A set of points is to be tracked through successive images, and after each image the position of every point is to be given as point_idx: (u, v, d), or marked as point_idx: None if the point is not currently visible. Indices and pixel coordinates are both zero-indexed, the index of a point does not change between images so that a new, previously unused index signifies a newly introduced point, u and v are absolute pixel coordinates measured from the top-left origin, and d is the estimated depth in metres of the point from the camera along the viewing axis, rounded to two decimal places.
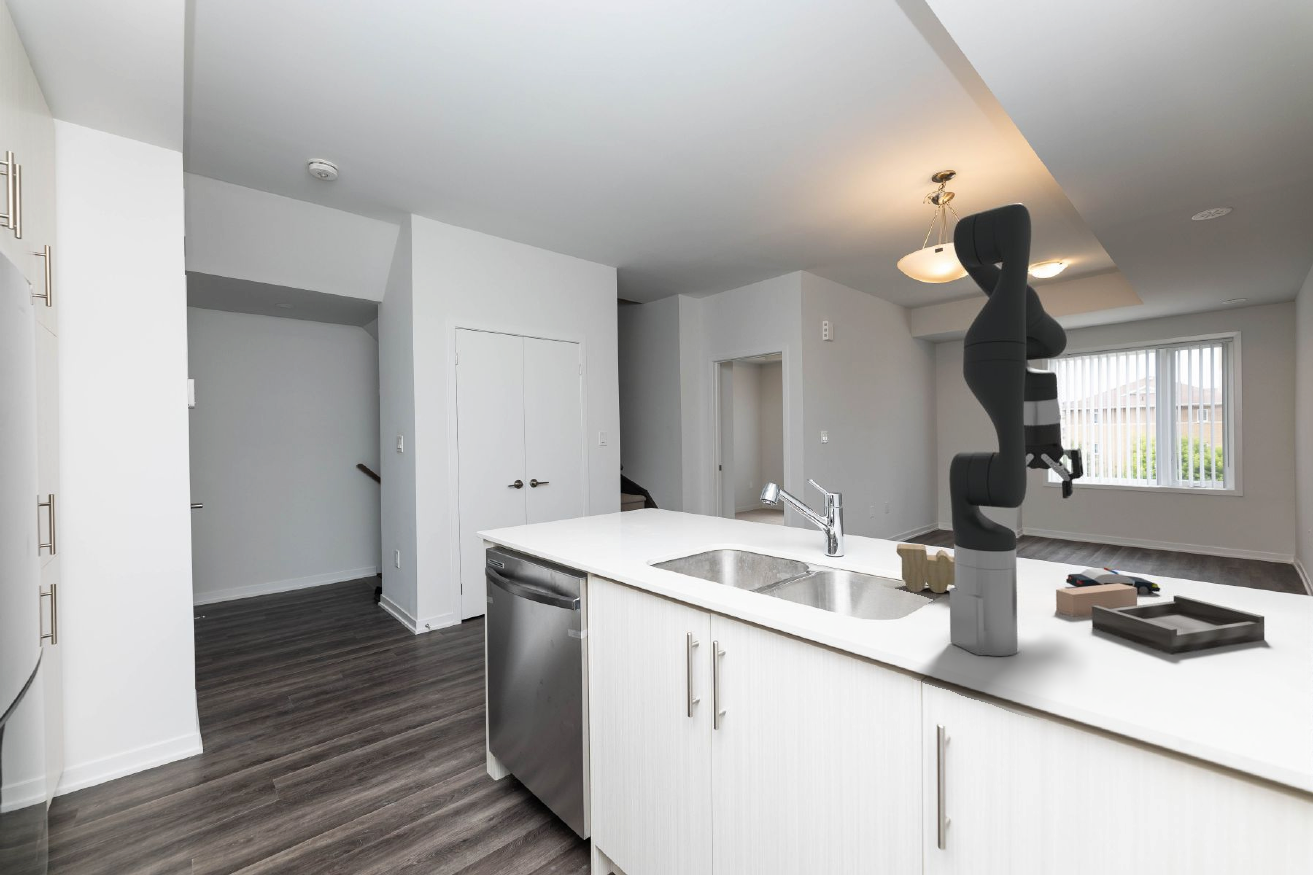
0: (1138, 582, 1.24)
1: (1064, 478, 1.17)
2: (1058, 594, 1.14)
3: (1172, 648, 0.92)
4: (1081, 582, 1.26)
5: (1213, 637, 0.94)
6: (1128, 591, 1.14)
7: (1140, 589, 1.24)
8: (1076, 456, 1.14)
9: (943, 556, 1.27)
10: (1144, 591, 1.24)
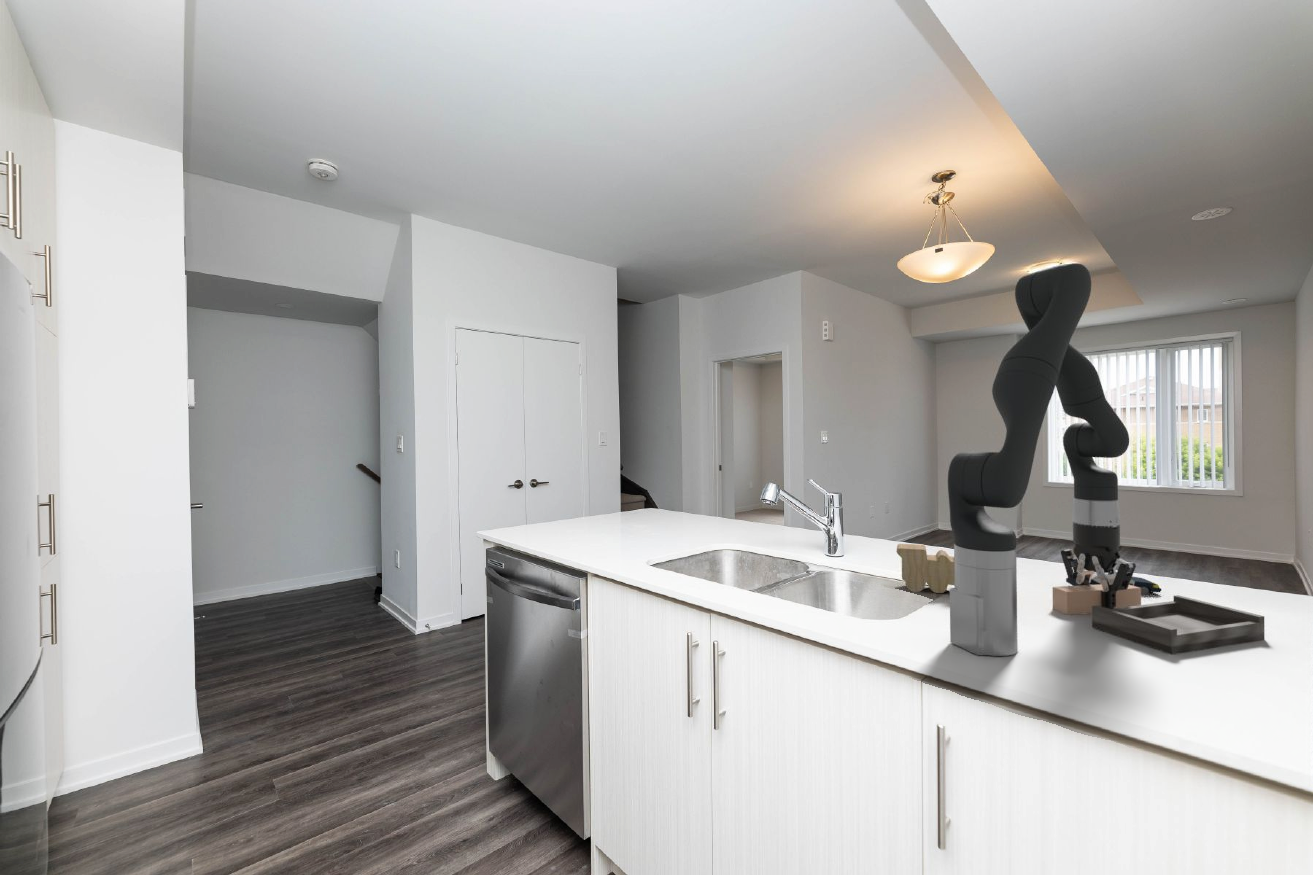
0: (1138, 582, 1.24)
1: (1103, 588, 1.12)
2: (1054, 591, 1.15)
3: (1172, 648, 0.92)
4: None
5: (1213, 637, 0.94)
6: (1130, 591, 1.13)
7: (1141, 590, 1.24)
8: (1122, 570, 1.08)
9: (943, 556, 1.27)
10: (1144, 591, 1.24)
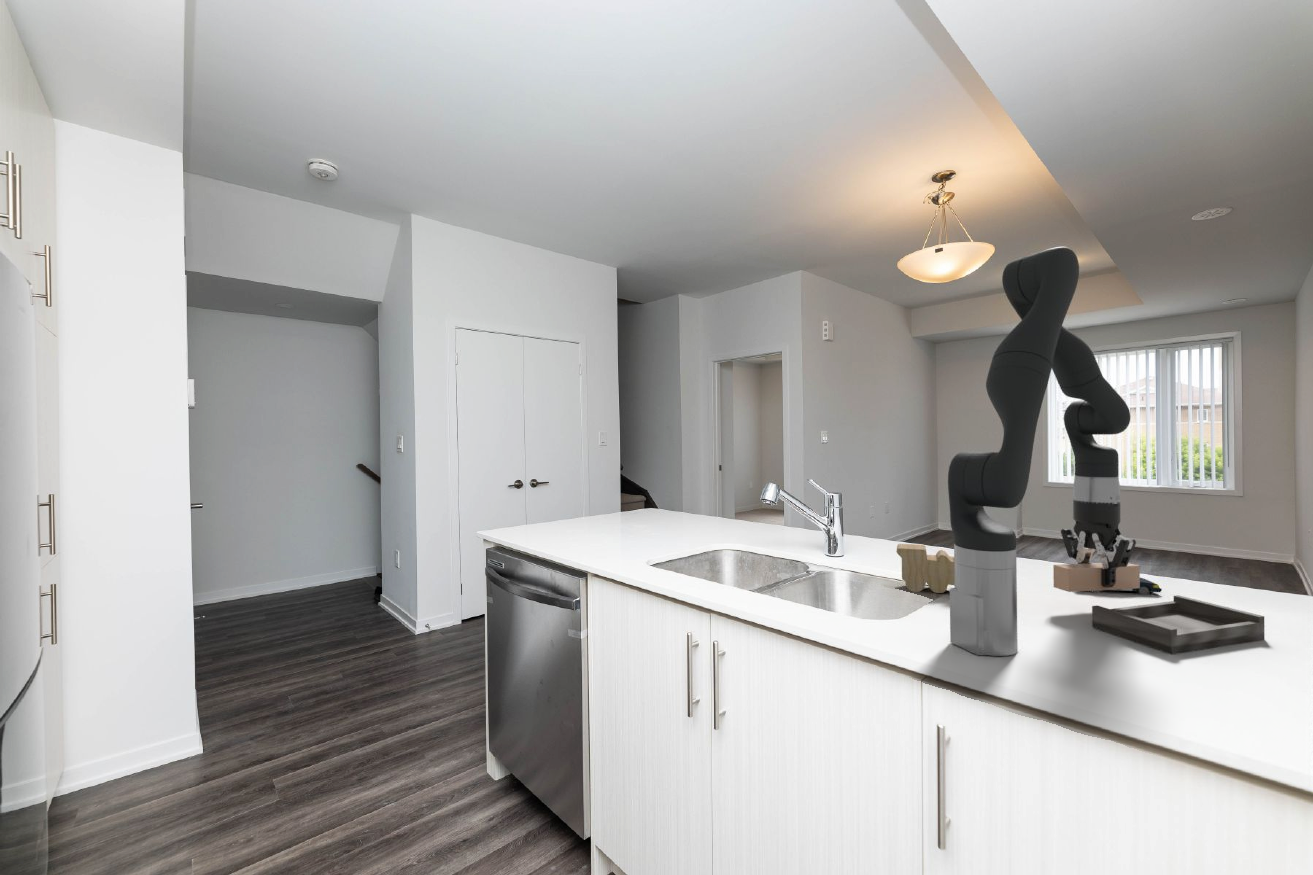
0: None
1: (1103, 565, 1.12)
2: (1055, 569, 1.14)
3: (1172, 648, 0.92)
4: None
5: (1213, 637, 0.94)
6: (1129, 569, 1.13)
7: (1141, 590, 1.24)
8: (1123, 546, 1.08)
9: (943, 556, 1.27)
10: (1144, 591, 1.24)
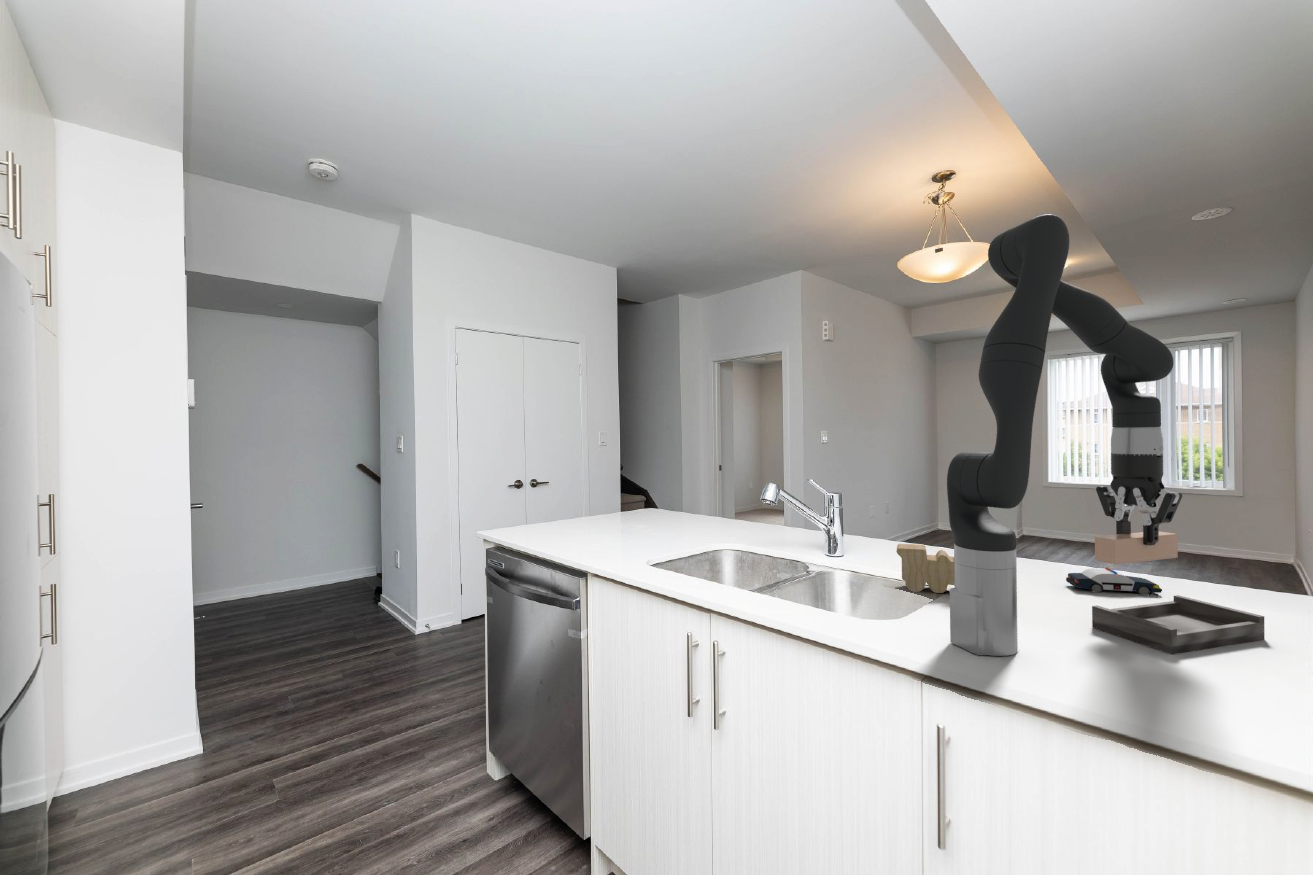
0: (1138, 582, 1.24)
1: (1145, 521, 1.04)
2: (1097, 541, 1.06)
3: (1172, 648, 0.92)
4: (1078, 581, 1.27)
5: (1213, 637, 0.94)
6: (1169, 537, 1.07)
7: (1141, 590, 1.24)
8: (1168, 500, 1.01)
9: (943, 556, 1.27)
10: (1145, 591, 1.24)
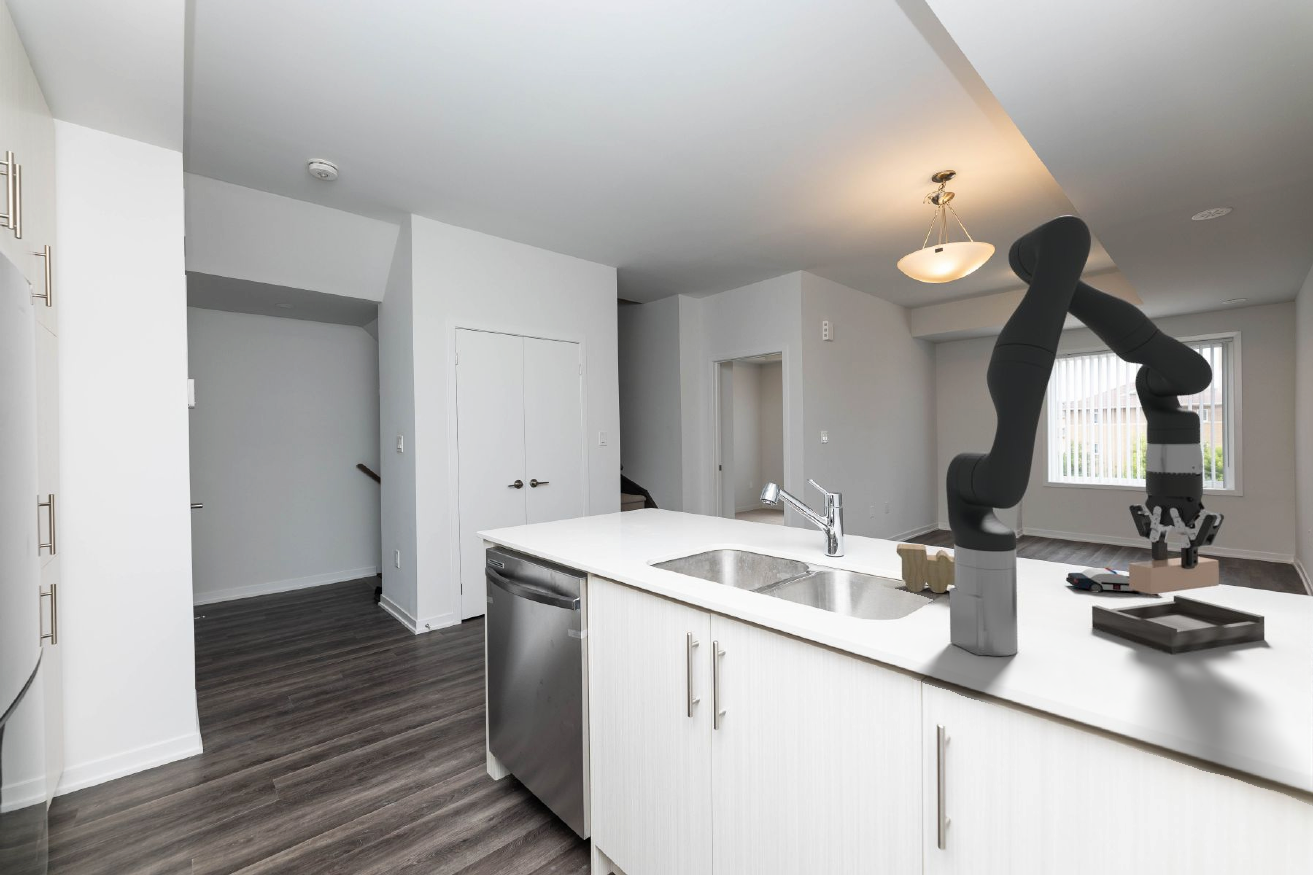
0: None
1: (1183, 544, 0.98)
2: (1131, 568, 1.00)
3: (1172, 648, 0.92)
4: (1077, 580, 1.27)
5: (1213, 637, 0.94)
6: (1209, 564, 1.01)
7: None
8: (1209, 522, 0.95)
9: (943, 556, 1.27)
10: None
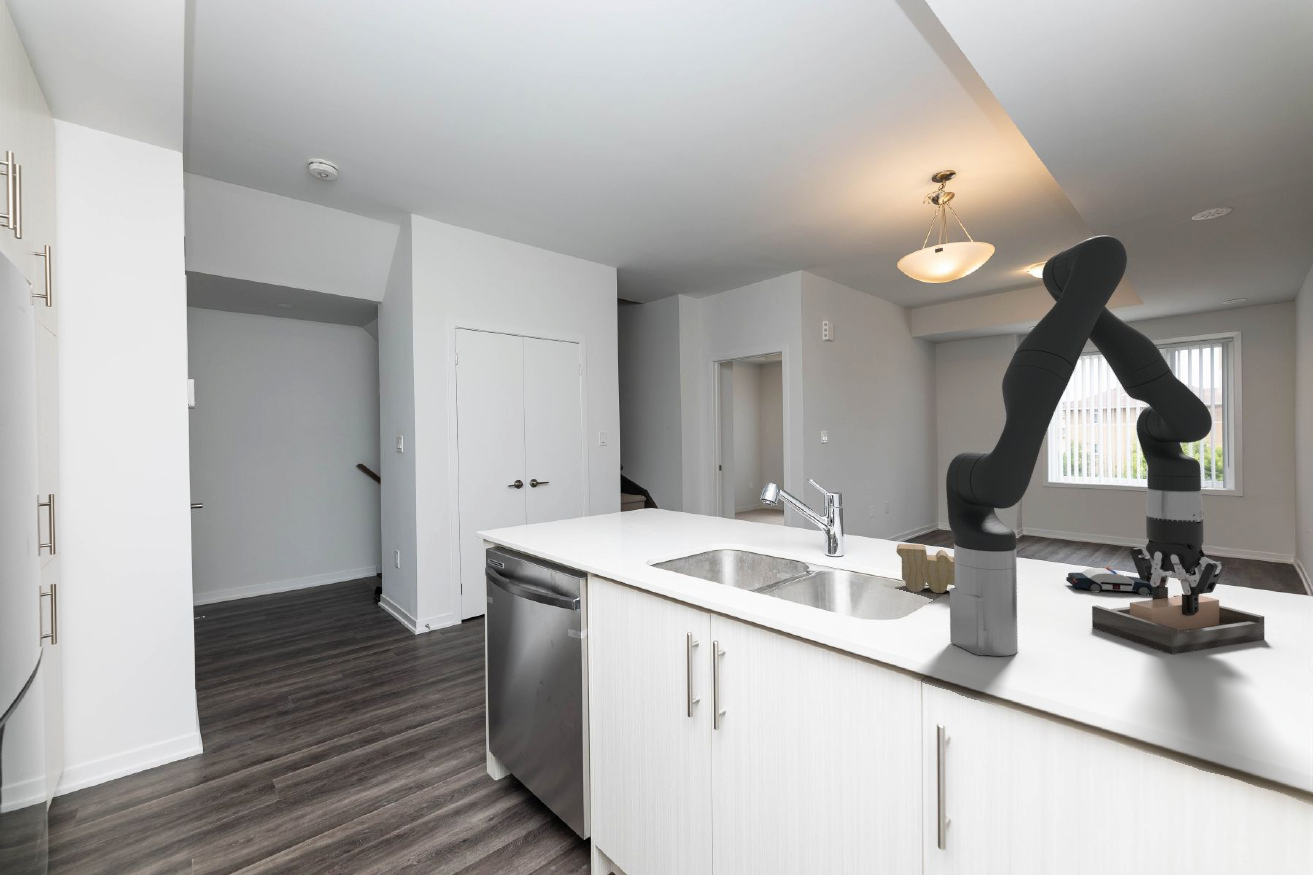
0: (1138, 583, 1.24)
1: (1184, 590, 0.99)
2: (1132, 608, 1.00)
3: (1172, 648, 0.92)
4: (1076, 580, 1.28)
5: (1213, 637, 0.94)
6: (1210, 604, 1.01)
7: (1140, 590, 1.24)
8: (1210, 571, 0.95)
9: (943, 556, 1.27)
10: (1145, 591, 1.23)
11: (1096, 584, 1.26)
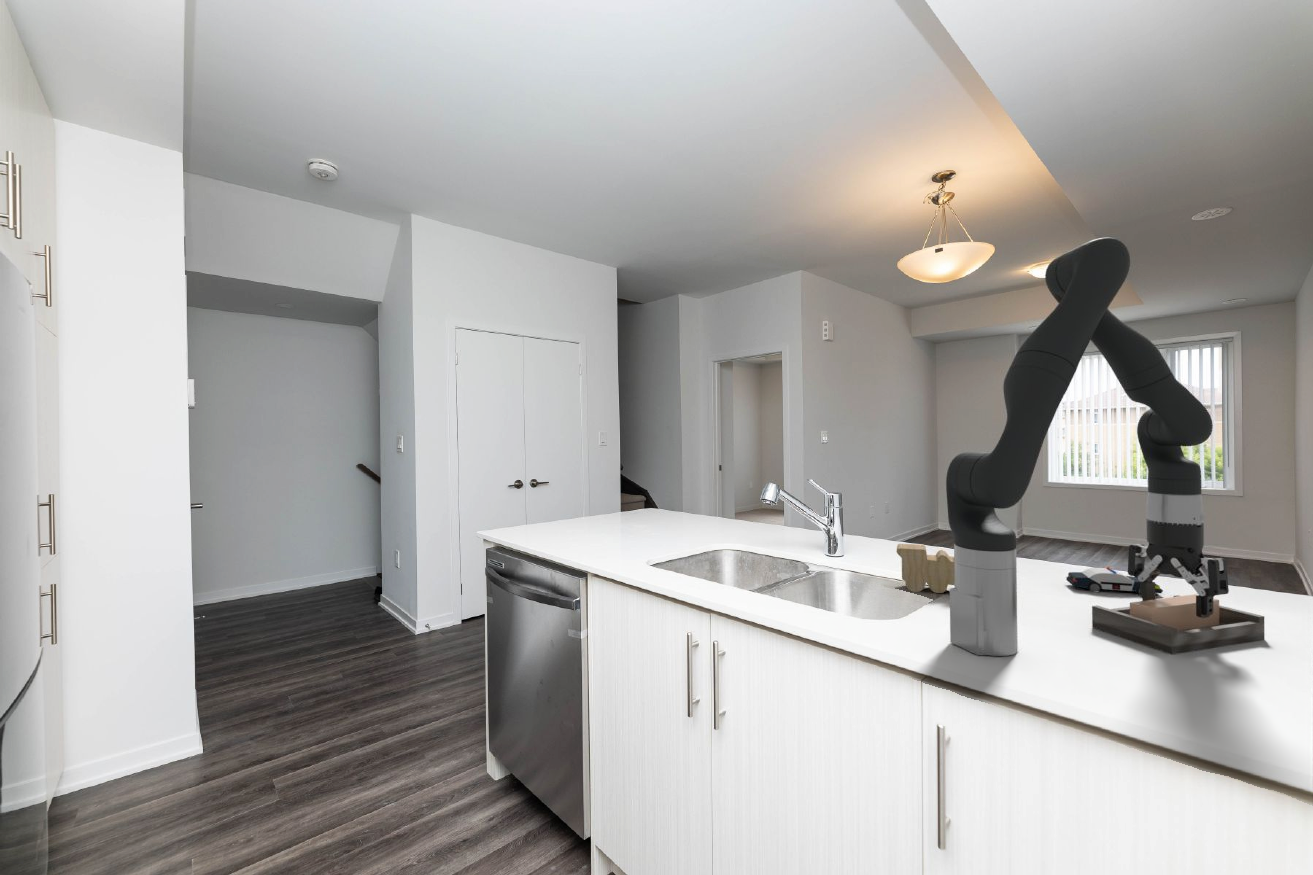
0: (1138, 583, 1.24)
1: (1198, 592, 0.96)
2: (1132, 608, 1.00)
3: (1172, 648, 0.92)
4: (1076, 580, 1.28)
5: (1213, 637, 0.94)
6: None
7: None
8: (1213, 567, 0.94)
9: (943, 556, 1.27)
10: None
11: (1096, 584, 1.27)
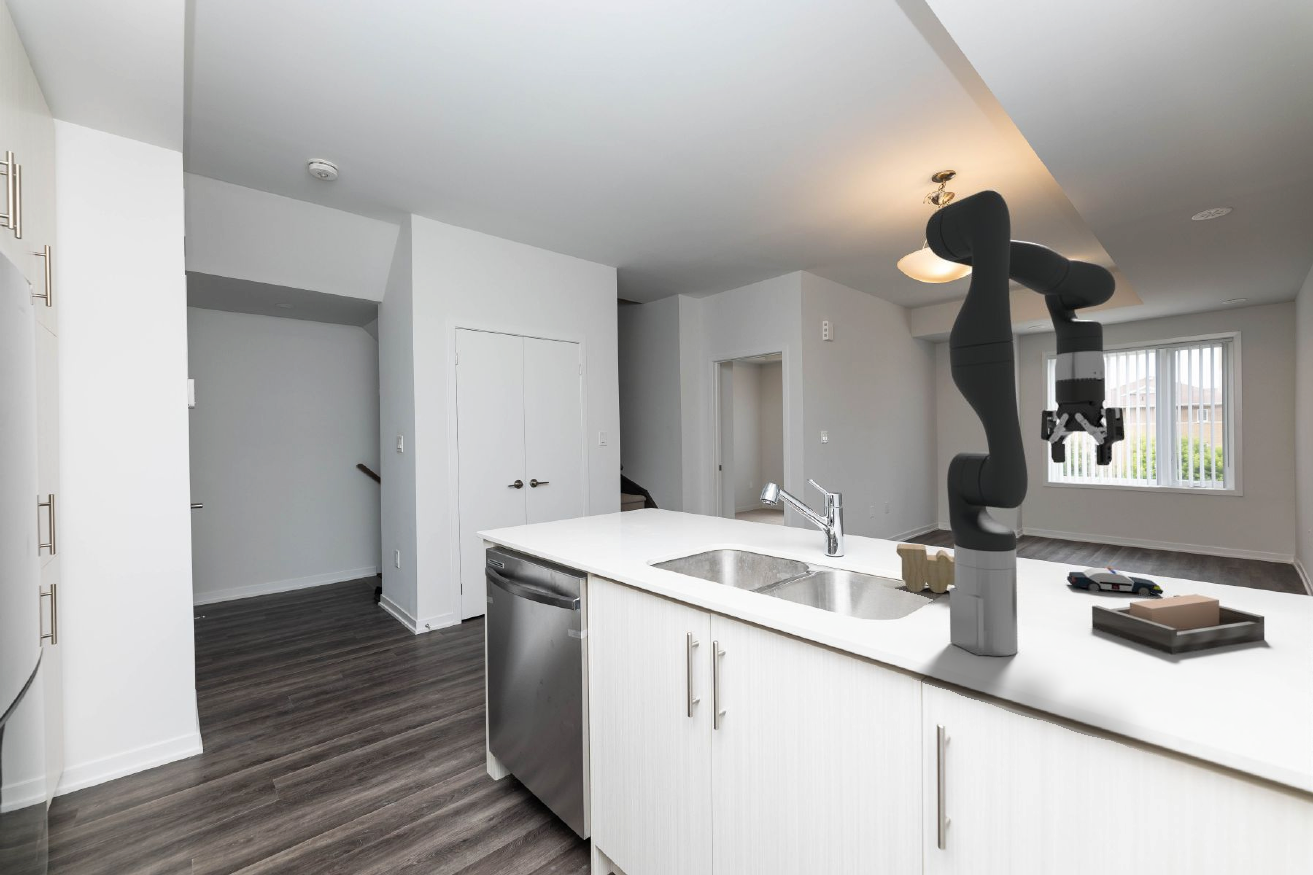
0: (1138, 583, 1.24)
1: (1098, 441, 1.02)
2: (1132, 608, 1.00)
3: (1172, 648, 0.92)
4: (1074, 579, 1.28)
5: (1213, 637, 0.94)
6: (1210, 604, 1.01)
7: (1140, 590, 1.23)
8: (1110, 414, 1.00)
9: (943, 556, 1.27)
10: (1145, 592, 1.23)
11: (1095, 583, 1.27)
